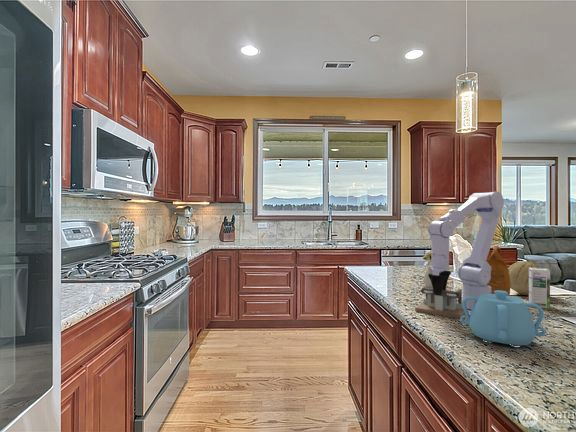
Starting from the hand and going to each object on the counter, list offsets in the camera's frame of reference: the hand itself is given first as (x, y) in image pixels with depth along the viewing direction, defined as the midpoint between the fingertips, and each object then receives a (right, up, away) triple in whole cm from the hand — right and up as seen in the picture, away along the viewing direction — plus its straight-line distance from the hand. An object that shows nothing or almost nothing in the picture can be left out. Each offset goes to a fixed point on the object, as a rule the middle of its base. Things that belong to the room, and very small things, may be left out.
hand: (439, 292), depth 116 cm
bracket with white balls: (+1, -4, +2) cm, 4 cm away
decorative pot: (+5, -7, -25) cm, 27 cm away
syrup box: (+42, -7, +9) cm, 44 cm away
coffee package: (+30, -7, +16) cm, 35 cm away
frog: (+13, -7, +31) cm, 35 cm away
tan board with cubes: (+1, -7, +2) cm, 7 cm away
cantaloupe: (+50, -7, +27) cm, 57 cm away
